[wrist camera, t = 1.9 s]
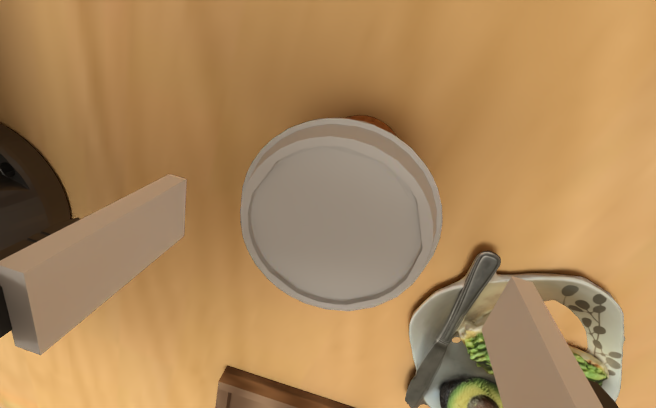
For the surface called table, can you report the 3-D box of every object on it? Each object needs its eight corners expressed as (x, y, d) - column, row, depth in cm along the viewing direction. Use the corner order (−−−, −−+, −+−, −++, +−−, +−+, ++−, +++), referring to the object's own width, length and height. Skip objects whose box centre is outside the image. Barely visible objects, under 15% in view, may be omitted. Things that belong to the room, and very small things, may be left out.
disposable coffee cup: (394, 231, 28) (392, 345, 17) (284, 189, 28) (214, 275, 17) (448, 119, 24) (491, 175, 13) (319, 71, 24) (254, 87, 13)
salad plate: (380, 249, 29) (377, 282, 25) (628, 227, 25) (675, 262, 21) (409, 408, 36) (410, 454, 32) (606, 413, 32) (638, 467, 27)
